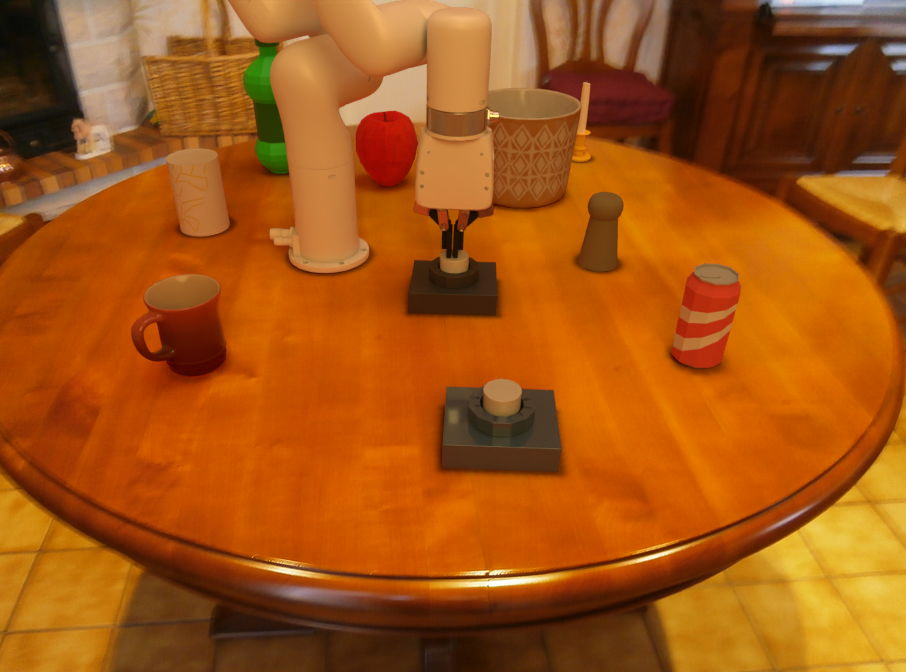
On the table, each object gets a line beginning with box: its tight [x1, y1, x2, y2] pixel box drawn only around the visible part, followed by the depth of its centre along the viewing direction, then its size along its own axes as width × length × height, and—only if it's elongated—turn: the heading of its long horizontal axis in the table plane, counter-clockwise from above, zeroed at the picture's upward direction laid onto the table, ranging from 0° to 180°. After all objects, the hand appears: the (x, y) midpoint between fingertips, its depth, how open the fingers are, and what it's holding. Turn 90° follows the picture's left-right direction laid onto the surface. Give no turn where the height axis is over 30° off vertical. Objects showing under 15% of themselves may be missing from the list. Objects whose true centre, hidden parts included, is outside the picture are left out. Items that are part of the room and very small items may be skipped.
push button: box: [439, 248, 470, 273], centre depth 102 cm, size 4×4×2 cm
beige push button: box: [483, 378, 522, 416], centre depth 77 cm, size 4×4×2 cm
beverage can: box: [670, 263, 742, 369], centre depth 89 cm, size 6×6×12 cm
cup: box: [165, 147, 231, 237], centre depth 122 cm, size 8×8×12 cm
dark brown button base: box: [408, 256, 498, 317], centre depth 104 cm, size 12×10×5 cm
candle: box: [572, 81, 592, 163], centre depth 149 cm, size 5×5×16 cm
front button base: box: [441, 385, 562, 473], centre depth 79 cm, size 12×10×5 cm
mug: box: [130, 273, 228, 378], centre depth 88 cm, size 12×9×10 cm
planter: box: [487, 87, 582, 209], centre depth 133 cm, size 19×19×16 cm
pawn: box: [577, 191, 625, 273], centre depth 111 cm, size 6×6×11 cm
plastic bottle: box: [242, 37, 289, 175], centre depth 140 cm, size 10×10×25 cm
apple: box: [354, 110, 419, 187], centre depth 138 cm, size 12×12×13 cm
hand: (452, 253), depth 102 cm, fingers closed
